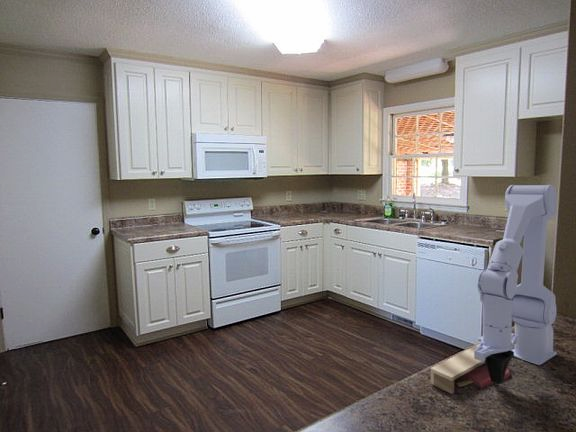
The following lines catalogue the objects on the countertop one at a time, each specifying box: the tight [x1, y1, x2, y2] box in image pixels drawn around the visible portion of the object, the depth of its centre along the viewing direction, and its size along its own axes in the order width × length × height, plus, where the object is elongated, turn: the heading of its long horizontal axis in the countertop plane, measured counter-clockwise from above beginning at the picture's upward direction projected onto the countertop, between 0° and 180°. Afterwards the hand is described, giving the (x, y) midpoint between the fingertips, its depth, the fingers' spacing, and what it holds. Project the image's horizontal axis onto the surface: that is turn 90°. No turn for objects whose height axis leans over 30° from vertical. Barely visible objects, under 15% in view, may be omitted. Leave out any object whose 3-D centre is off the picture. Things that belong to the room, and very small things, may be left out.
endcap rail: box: [430, 343, 486, 395], centre depth 98 cm, size 21×6×4 cm, turn 124°
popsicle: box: [456, 365, 511, 388], centre depth 96 cm, size 5×2×15 cm
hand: (496, 381), depth 92 cm, fingers closed
